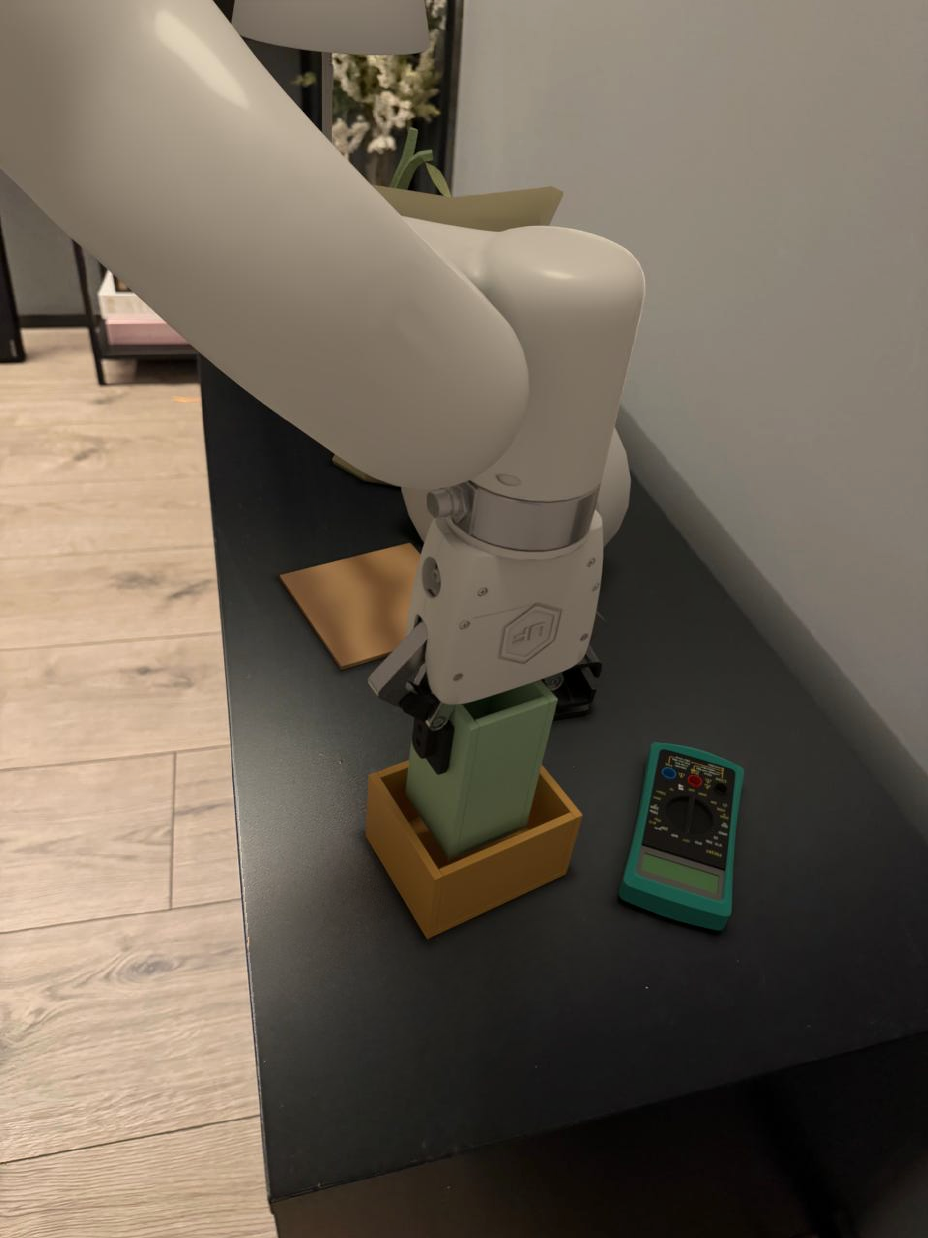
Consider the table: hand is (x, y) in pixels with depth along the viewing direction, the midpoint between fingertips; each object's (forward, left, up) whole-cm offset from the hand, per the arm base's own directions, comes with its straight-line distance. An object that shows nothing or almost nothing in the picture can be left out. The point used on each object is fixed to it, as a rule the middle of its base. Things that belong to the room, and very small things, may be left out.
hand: (477, 739), depth 58 cm
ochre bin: (0, 0, -12) cm, 12 cm away
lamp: (+41, +115, -12) cm, 123 cm away
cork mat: (+7, +28, -12) cm, 31 cm away
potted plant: (+27, +72, -12) cm, 78 cm away
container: (+25, +50, -12) cm, 57 cm away
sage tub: (0, 0, -7) cm, 7 cm away
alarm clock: (+22, +30, -12) cm, 39 cm away
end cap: (+13, +12, -12) cm, 22 cm away
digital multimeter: (+15, -6, -12) cm, 21 cm away
